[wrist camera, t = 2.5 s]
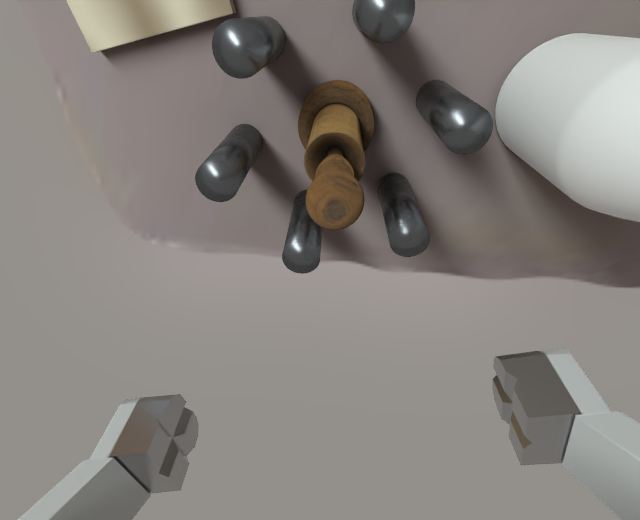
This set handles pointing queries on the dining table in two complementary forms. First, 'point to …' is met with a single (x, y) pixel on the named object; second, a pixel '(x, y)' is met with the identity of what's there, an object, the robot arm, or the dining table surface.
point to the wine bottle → (579, 119)
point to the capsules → (394, 191)
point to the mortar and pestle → (335, 151)
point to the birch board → (141, 18)
